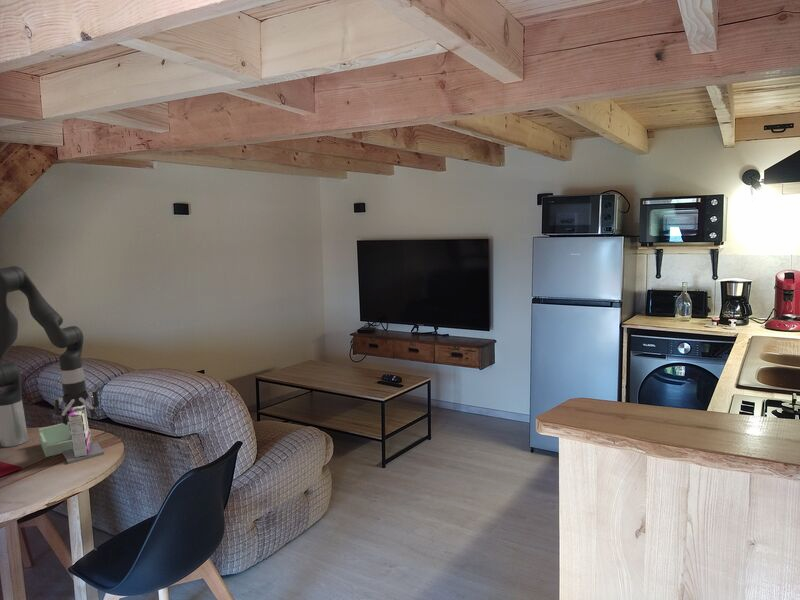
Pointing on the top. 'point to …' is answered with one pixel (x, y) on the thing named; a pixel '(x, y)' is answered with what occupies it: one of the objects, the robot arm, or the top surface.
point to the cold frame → (56, 439)
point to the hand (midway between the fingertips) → (78, 421)
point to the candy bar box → (79, 431)
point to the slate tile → (94, 451)
